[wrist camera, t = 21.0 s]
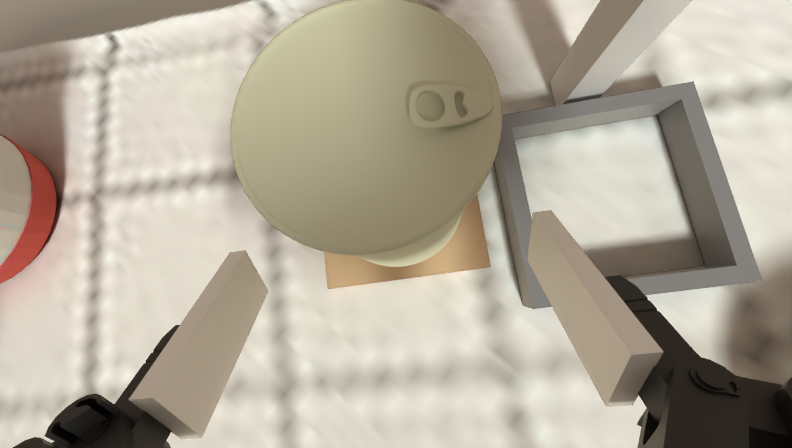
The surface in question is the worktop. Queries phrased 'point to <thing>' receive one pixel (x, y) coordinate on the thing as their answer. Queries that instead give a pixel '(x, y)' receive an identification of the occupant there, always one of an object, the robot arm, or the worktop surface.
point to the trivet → (455, 256)
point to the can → (367, 129)
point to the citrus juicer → (23, 207)
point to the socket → (581, 107)
